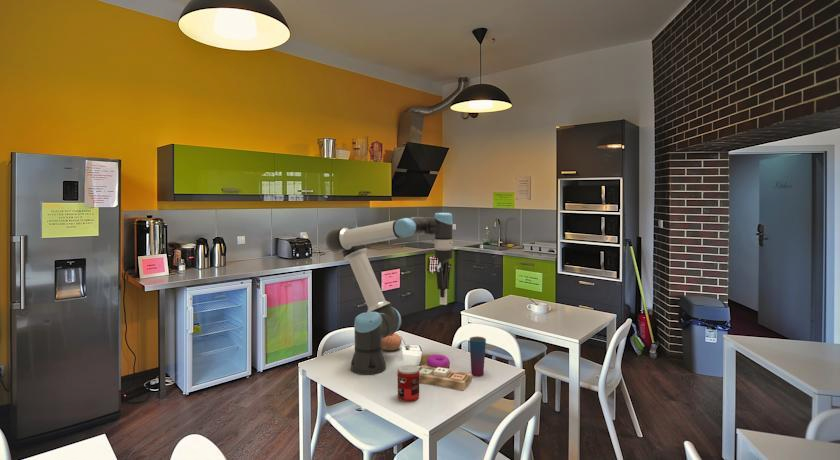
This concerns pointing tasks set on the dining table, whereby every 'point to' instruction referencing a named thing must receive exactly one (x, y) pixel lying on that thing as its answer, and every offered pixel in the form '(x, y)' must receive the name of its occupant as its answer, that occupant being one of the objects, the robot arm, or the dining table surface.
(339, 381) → the dining table surface
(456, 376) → the button
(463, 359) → the dining table surface
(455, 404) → the dining table surface
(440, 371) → the button
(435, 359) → the donut
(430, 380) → the panel
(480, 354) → the cup
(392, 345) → the orange pumpkin
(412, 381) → the canned food
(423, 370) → the button
